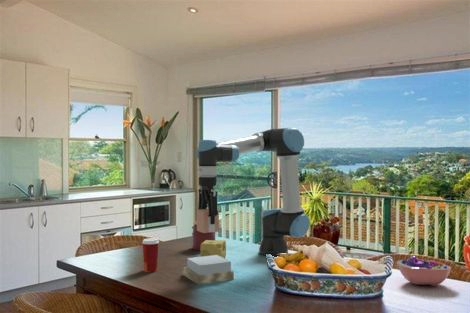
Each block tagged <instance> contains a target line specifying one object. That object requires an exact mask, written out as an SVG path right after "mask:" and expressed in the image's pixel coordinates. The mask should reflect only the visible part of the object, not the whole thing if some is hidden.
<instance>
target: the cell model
mask: <svg viewBox="0 0 470 313" xmlns="http://www.w3.org/2000/svg"><path fill="white" fill-rule="evenodd" d="M396 264H397V267H398V270H399V272H400V274H401V275H402V276H403V277H404V278H403V279H405V280H406V281H408V282H410V283H411V284H413V285H416V286H421V285H423V286H425V285H426V286H433V287H435V286H439V285H440V284H442V283H443V282H445V281H446V279H447V278H448V276H449V274H450V272H451V270H452V266H450V265H447V263H446V264H445V263H443V262H440V261H436V260H431V259H420V258H417V255H411V256H409V257H408V258H405V259H399V260H397V262H396Z"/></svg>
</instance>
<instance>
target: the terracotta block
mask: <svg viewBox="0 0 470 313" xmlns="http://www.w3.org/2000/svg"><path fill="white" fill-rule="evenodd" d="M219 212H220V210H219V209H218V215H216V216H215V233H218V232H220V213H219ZM208 215H209V210H208V208H207V209H198V208H197V209H196V220H197V231H199V232H202V233H210V232H208Z"/></svg>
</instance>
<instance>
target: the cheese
mask: <svg viewBox="0 0 470 313" xmlns="http://www.w3.org/2000/svg"><path fill="white" fill-rule="evenodd" d="M226 243H227V242H226V240H225V239H224V240H223V239H222V240H221V239H220V240H219V239H218V240H216V239H215V240H205V241H204V242H203V243H202V244H201V248H200V250H201V251H200V256H199V257H203V256H211V255H218V256H220V257H222V258H224V259H226V258H227V244H226Z"/></svg>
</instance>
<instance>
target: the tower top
mask: <svg viewBox="0 0 470 313" xmlns="http://www.w3.org/2000/svg"><path fill="white" fill-rule="evenodd" d="M186 260H187V261H186V262H187V264H186V267H187V268H189V269H190V270H192V271H194V272H195V273H197V274H198V275H207V274H214V273H221V272H229V271H231V270H232V262H231V260H228V259H226V258H225V259H224V258H222V257H220V256H218V255H211V256H203V257H200V256H196V257H195V256H194V257H188V258H186Z"/></svg>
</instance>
